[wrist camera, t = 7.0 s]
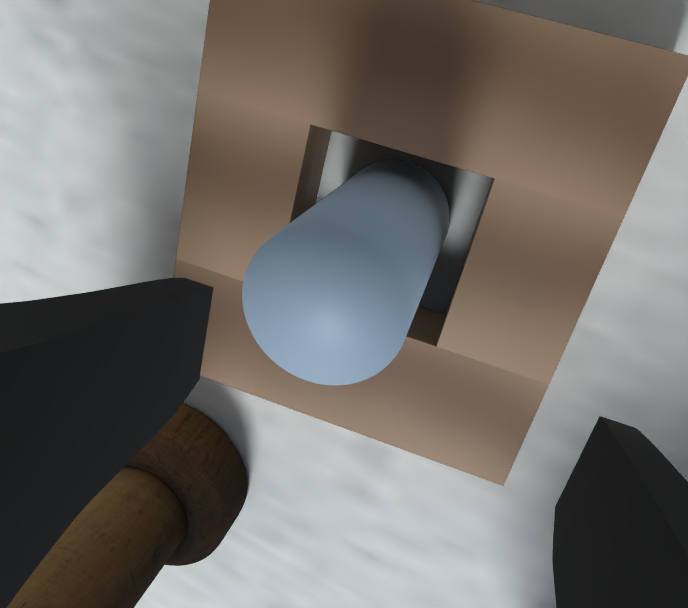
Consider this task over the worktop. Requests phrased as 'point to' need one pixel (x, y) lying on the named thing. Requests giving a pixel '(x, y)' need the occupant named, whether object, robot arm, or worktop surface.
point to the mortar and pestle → (145, 520)
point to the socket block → (438, 145)
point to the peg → (348, 275)
